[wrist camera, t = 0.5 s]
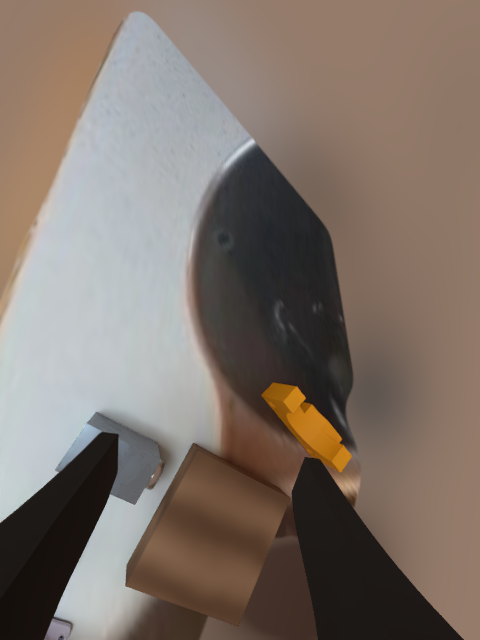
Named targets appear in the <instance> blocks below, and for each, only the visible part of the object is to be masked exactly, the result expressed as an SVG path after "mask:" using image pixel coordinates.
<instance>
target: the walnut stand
mask: <svg viewBox="0 0 480 640" xmlns="http://www.w3.org/2000/svg"><path fill="white" fill-rule="evenodd" d="M289 500H290V497H288V496H287V495H286V494H285V493H284V492H283V491H282V490H281V489H280V488H278V487H277V486H275V485H273V484H271V483H269V482H267V481H265V480H263V479H261V478H259V477H257V476H255V475H253V474H252V473H250V472H248V471H246V470H244V469H242V468H240V467H238V466H236V465H234V464H232V463H230V462H229V461H227V460H225V459H223V458H221V457H219V456H217V455H215V454H213V453H211V452H209V451H207V450H205V449H204V448H202V447H200V446H198V445H196V444H194V443H193V444H192V446H191V448H190V450H189V452H188V453H187V455H186V457H185V459H184V461H183V463H182V464H181V466H180V468H179V470H178V472H177V474H176V475H175V477H174V479H173V481H172V483H171V485H170V486H169V488H168V490H167V492H166V494H165V496H164V497H163V499H162V501H161V503H160V505H159V507H158V509H157V510H156V512H155V514H154V516H153V518H152V520H151V521H150V523H149V525H148V527H147V529H146V531H145V532H144V534H143V536H142V538H141V540H140V542H139V543H138V545H137V547H136V549H135V551H134V553H133V554H132V556H131V558H130V560H129V562H128V564H127V569H126V584H125V586H126V587H129V588H132V589H135V590H138V591H140V592H143V593H146V594H149V595H152V596H154V597H157V598H160V599H163V600H166V601H168V602H171V603H174V604H177V605H179V606H182V607H185V608H188V609H191V610H193V611H196V612H199V613H202V614H205V615H207V616H210V617H213V618H216V619H219V620H221V621H224V622H227V623H230V624H233V625H235V626H239V624H240V621H241V619H242V616H243V614H244V611H245V608H246V606H247V604H248V601H249V599H250V596H251V594H252V592H253V589H254V587H255V584H256V582H257V579H258V577H259V574H260V571H261V569H262V567H263V564H264V562H265V560H266V557H267V555H268V552H269V550H270V547H271V544H272V542H273V540H274V537H275V535H276V532H277V530H278V528H279V525H280V523H281V520H282V518H283V515H284V513H285V510H286V508H287V505H288V503H289Z"/></svg>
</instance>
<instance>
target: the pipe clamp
mask: <svg viewBox="0 0 480 640" xmlns="http://www.w3.org/2000/svg"><path fill="white" fill-rule="evenodd" d="M261 396H262V397H263V398H264V399H265V401H266V402H267V403H268V404H269V405H270V407H271V408H272V409H273V410H274V412H275V413H276V414H277V415H278V416H279V418H280V419H281V420H282V421H283V423H284V424H285V425H286V426H287V427H288V429H289V430H290V431H291V432H292V434H293V435H294V436H295V437H296V438H297V440H298V441H299V442H300V443H301V445H302V446H303V447H304V448H305V449H306V451H307V452H308V453H309V454H310V456H312V457H314V458H316V459H320V460H321V462H323V463H324V464H326V465H328V466H330V467H331V468H333V469H335V470H337V471H339V472H340V473H341V471H342V470H343V468H344V467H345V466H346V464H347V463H348V461H349V460H350V458H351V457H352V456H351V454H350V453H349V452H348V451H347V449H346V448H345V447H344V445H342V444H340V443H339V442H340V441H341V440H342V438H341V437H340V436H339V434H338V433H337V432H336V430H335V429H334V428H333V427H332V425H331V424H330V423H329V422H328V420H326V419H325V418H324V417H323V416H322V415H321V414H320V413H319V412H318V411H317V410H316V409H315V407H314V406H313V405H312V404H309V403H305V402H303V401H304V400H305V399H306V398H305V396H304V395H303V394H302V393H301V391H300V390H299V389H298V387H297V386H291V385H285V384H279V383H272V384H271V385H270V386H269V387H268V389H267V390H266V391H265V392H264V393H263V394H262V395H261ZM302 402H303V403H302ZM301 403H302V404H301Z"/></svg>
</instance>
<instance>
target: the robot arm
mask: <svg viewBox="0 0 480 640" xmlns="http://www.w3.org/2000/svg"><path fill="white" fill-rule="evenodd" d="M118 443H119V434H116V433H108V432H101V433H99V434H98V435H97V436H96V437H95V438H94V439H93V440H92V441H91V442H90V443H89V444H88V445H87V446H86V447H85V448H84V449H83V450H82V451H81V452H80V453H79V454H78V455H77V456H76V457H75V458H74V459H73V460H72V461H71V462H70V463H69V464H68V465H67V466H66V467H64V468H63V469H62V470H61V471H60V472H59V473H58V474H57V475H56V476H55V477H54V478H52V479H51V480H50V481H49V482H48V483H47V484H46V485H45V486H44V487H43V488H41V489H40V490H39V491H38V492H37V493H36V494H34V495H33V496H32V497H31V498H30V499H29V500H27V501H26V502H25V503H24V504H23V505H22V506H20V507H19V508H18V509H17V510H16V511H14V512H13V513H12V514H11V515H10V516H8V517H7V518H6V519H5V520H3V521H2V522H1V523H0V640H66V639H67V637H68V635H69V633H70V631H71V625H70V624H69V623H65V622H62V621H59V620H56V619H53V616H54V614H55V612H56V609H57V607H58V604H59V602H60V599H61V597H62V595H63V593H64V590H65V588H66V586H67V584H68V582H69V579H70V577H71V575H72V573H73V571H74V569H75V567H76V565H77V563H78V561H79V559H80V557H81V555H82V553H83V551H84V549H85V547H86V544H87V542H88V540H89V538H90V536H91V534H92V532H93V530H94V528H95V526H96V524H97V522H98V520H99V518H100V516H101V514H102V511H103V509H104V507H105V505H106V503H107V500H108V498H109V495H110V492H111V490H112V487H113V484H114V482H115V479H116V476H117V473H118ZM292 501H293V511H294V519H295V525H296V530H297V535H298V540H299V544H300V549H301V553H302V558H303V563H304V567H305V572H306V576H307V581H308V586H309V590H310V595H311V599H312V605H313V610H314V616H315V621H316V629H317V636H318V640H464V639H463V638H462V637H461V636H460V635H459V634H458V633H457V632H456V631H455V630H454V629H453V628H452V627H451V626H450V625H449V624H448V623H447V622H446V620H445V619H444V618H443V617H442V616H441V615H440V614H439V613H438V612H437V611H436V610H435V609H434V608H433V607H432V605H431V604H430V603H429V602H428V601H427V600H426V599H425V598H424V597H423V596H422V594H421V593H420V592H419V591H418V590H417V589H416V588H415V586H414V585H413V584H412V583H411V582H410V581H409V579H408V578H407V577H406V576H405V575H404V574H403V572H402V571H401V570H400V569H399V568H398V567H397V565H396V564H395V563H394V562H393V560H392V559H391V558H390V557H389V556H388V554H387V553H386V552H385V550H384V549H383V548H382V547H381V545H380V544H379V543H378V541H377V540H376V539H375V537H374V536H373V535H372V534H371V532H370V531H369V529H368V528H367V527H366V525H365V524H364V523H363V521H362V520H361V518H360V517H359V516H358V515H357V513H356V511H355V510H354V509H353V507H352V506H351V504H350V503H349V502H348V500H347V499H346V497H345V496H344V494H343V493H342V491H341V490H340V488H339V487H338V485H337V484H336V482H335V481H334V479H333V478H332V476H331V475H330V473H329V472H328V470H327V469H326V467H325V466H324V464H323V463H322V462H321V460H320V459H316V458H308V457H305V458H304V461H303V464H302V466H301V469H300V471H299V474H298V477H297V479H296V482H295V485H294V487H293V490H292ZM61 635H63V636H64V637H63V638H60V636H61Z"/></svg>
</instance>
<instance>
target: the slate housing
mask: <svg viewBox="0 0 480 640" xmlns="http://www.w3.org/2000/svg"><path fill="white" fill-rule="evenodd" d="M101 432H108V433H116V434H119V443H118V473H117V476H116V479H115V482H114V484H113V487H112V490H111V492H110V494H111V495H114V496H116V497H118V498H120V499H123V500H125V501H127V502H130V503H132V504H134V505H135V504H136V502H137V500H138V499H139V497H140V495H141V493H142V492H143V490H144V488H147V489H149V490H151V489H152V488H153V487H154V486H155V484H156V483H157V481H158V479H159V477H160V475H161V473H162V471H163V468H164V465H165V461H164V460H162V459H160V454H159V449H158V444H157V442H155V441H153V440H151V439H149V438H147V437H145V436H143V435H141V434H139V433H137V432H135V431H133V430H131V429H129V428H127V427H125V426H123V425H121V424H119V423H117V422H115V421H113V420H111V419H109V418H107V417H105V416H103V415H101V414H99V413H97V412H96V413H95V414H94V415H93V416H92V418H91V419H90V420H89V421H88V422H87V424H86V425H85V426H84V428H83V429H82V431H81V432H80V434H79V435H78V437H77V438H76V440H75V441H74V443H73V444H72V445H71V447H70V448H69V450H68V451H67V453H66V454H65V456H64V457H63V459H62V460H61V462H60V463H59V465H58V466H57V467H56V469H55V470H56V471H58V472H60V471H61V470H62V469H63V468H64V467H66V466H67V465H68V464H69V463H70V462H71V461H72V460H73V459H74V458H75V457H76V456H77V455H78V454H79V453H80V452H81V451H82V450H83V449H84V448H85V447H86V446H87V445H88V444H89V443H90V442H91V441H92V440H93V439H94V438H95V437H96V436H97V435H98V434H99V433H101Z"/></svg>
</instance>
